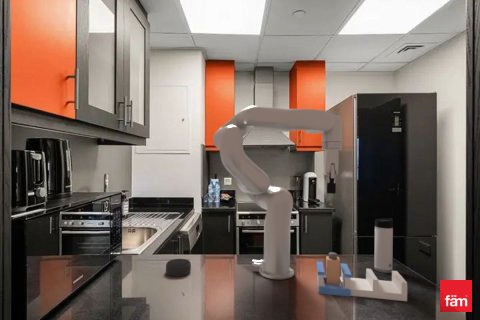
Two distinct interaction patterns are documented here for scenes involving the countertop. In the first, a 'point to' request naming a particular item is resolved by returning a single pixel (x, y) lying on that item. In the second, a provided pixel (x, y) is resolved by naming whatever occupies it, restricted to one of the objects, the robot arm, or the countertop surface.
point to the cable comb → (363, 285)
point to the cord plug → (332, 269)
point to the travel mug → (383, 245)
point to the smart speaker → (178, 267)
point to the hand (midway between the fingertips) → (331, 193)
